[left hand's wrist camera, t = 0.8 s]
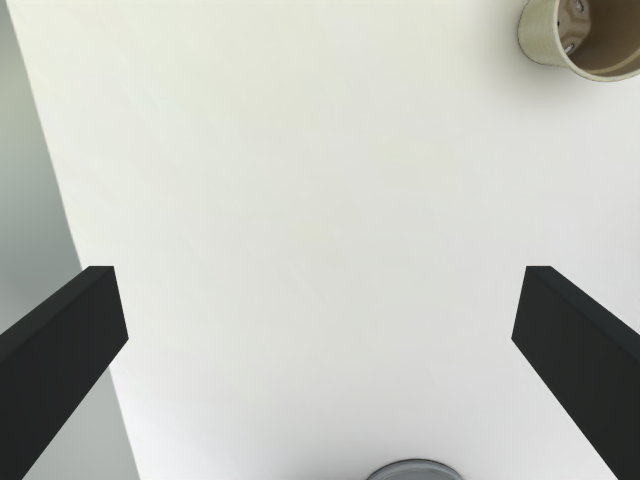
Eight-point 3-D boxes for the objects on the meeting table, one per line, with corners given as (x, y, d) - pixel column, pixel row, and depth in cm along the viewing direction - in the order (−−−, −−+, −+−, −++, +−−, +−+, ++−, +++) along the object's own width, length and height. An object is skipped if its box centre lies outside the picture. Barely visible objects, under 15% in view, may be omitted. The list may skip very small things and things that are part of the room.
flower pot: (545, -66, 32) (622, -117, 24) (633, -3, 33) (734, -32, 25) (476, 49, 35) (523, 38, 27) (560, 102, 36) (629, 106, 28)
